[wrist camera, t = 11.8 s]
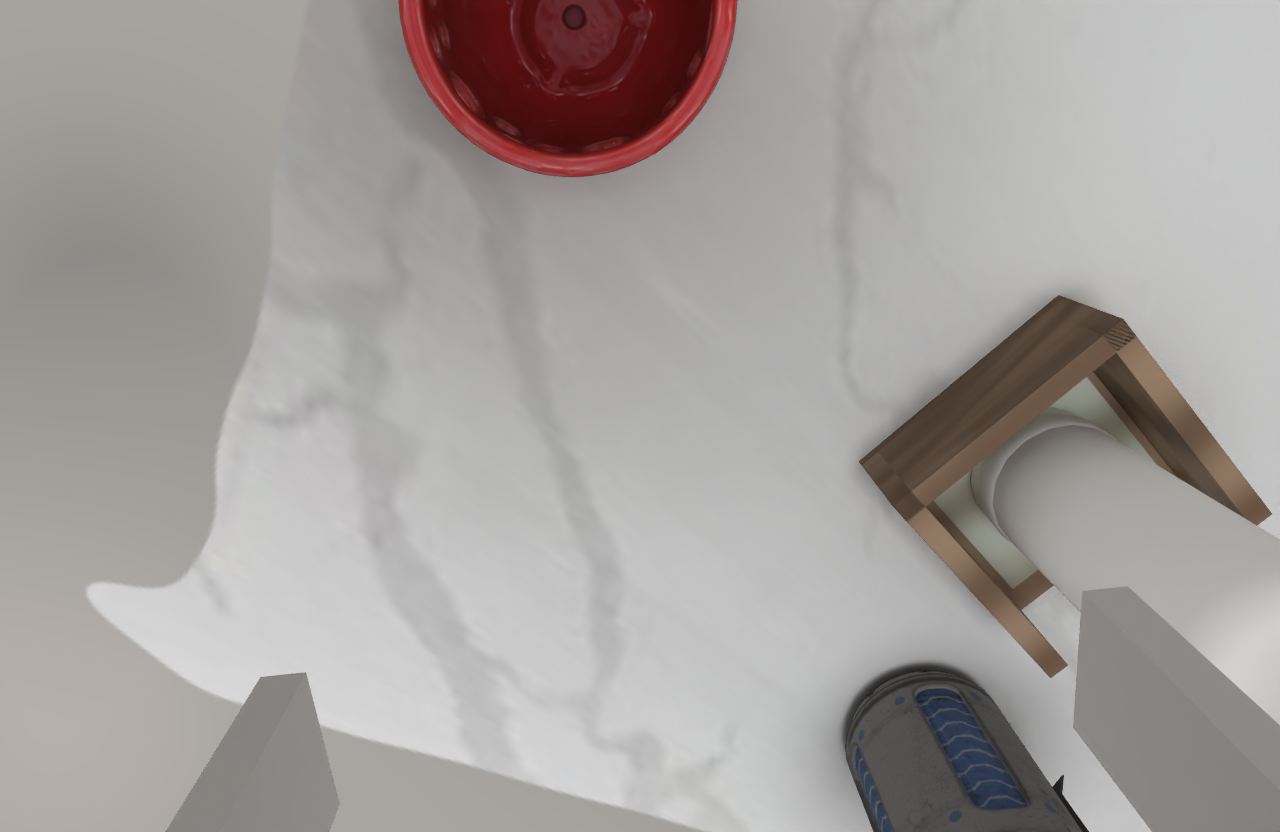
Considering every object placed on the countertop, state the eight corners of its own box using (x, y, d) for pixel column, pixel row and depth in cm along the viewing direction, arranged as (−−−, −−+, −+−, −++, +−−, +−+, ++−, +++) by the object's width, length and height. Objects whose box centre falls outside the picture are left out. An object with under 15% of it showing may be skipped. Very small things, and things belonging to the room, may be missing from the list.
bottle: (1129, 446, 52) (1759, 826, 24) (1047, 553, 54) (1537, 1023, 26) (1022, 381, 51) (1555, 702, 22) (941, 493, 53) (1336, 921, 24)
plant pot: (411, -74, 44) (342, -145, 32) (673, -148, 43) (697, -247, 32) (491, 194, 48) (455, 214, 36) (732, 129, 47) (773, 129, 36)
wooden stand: (859, 461, 53) (893, 506, 47) (1058, 295, 50) (1123, 319, 44) (1001, 617, 56) (1050, 678, 50) (1194, 469, 54) (1272, 514, 48)
